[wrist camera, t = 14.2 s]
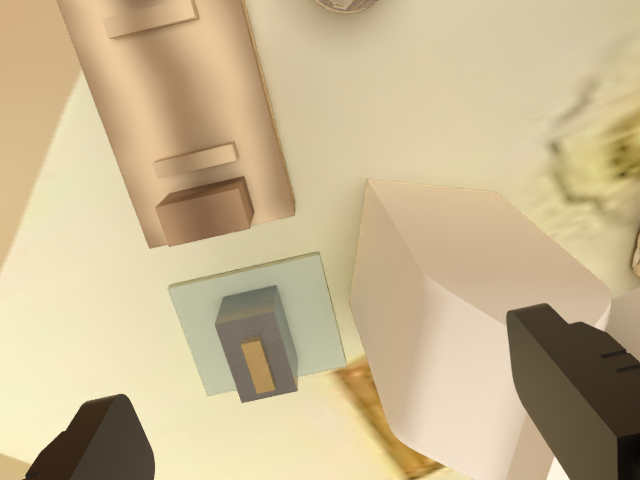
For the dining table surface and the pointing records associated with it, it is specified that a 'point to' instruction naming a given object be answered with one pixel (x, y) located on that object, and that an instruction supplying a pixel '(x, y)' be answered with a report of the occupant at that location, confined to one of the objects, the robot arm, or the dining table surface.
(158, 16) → the wooden peg board
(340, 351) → the mat
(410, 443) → the milk
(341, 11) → the bath foam
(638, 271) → the storage basket
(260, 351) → the lever cap
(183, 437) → the dining table surface
